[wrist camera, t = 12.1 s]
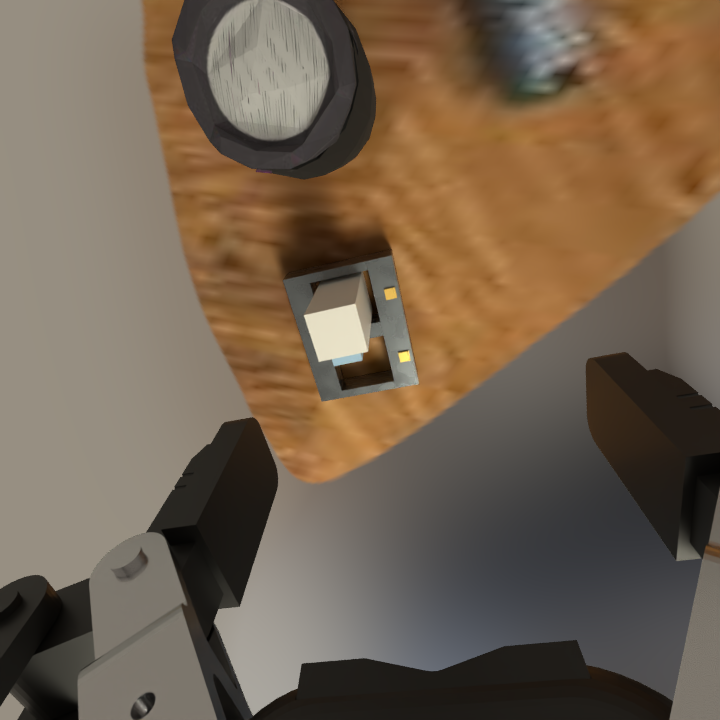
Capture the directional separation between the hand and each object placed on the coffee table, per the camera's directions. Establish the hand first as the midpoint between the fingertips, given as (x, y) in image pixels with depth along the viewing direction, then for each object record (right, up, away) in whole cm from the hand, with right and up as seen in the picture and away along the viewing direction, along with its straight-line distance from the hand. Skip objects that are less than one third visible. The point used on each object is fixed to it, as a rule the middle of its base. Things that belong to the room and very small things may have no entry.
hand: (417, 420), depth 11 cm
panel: (-2, +5, +33) cm, 34 cm away
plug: (-3, +8, +32) cm, 33 cm away
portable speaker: (-4, +22, +25) cm, 34 cm away
